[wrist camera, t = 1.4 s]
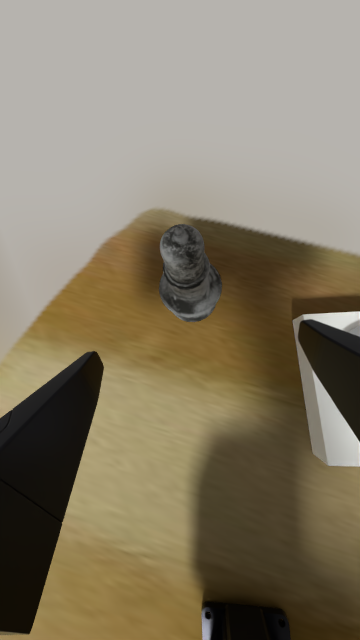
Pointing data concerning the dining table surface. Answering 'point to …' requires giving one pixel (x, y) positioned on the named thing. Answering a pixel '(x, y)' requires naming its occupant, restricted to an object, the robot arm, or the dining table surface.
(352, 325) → the scale
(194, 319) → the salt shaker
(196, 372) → the dining table surface
